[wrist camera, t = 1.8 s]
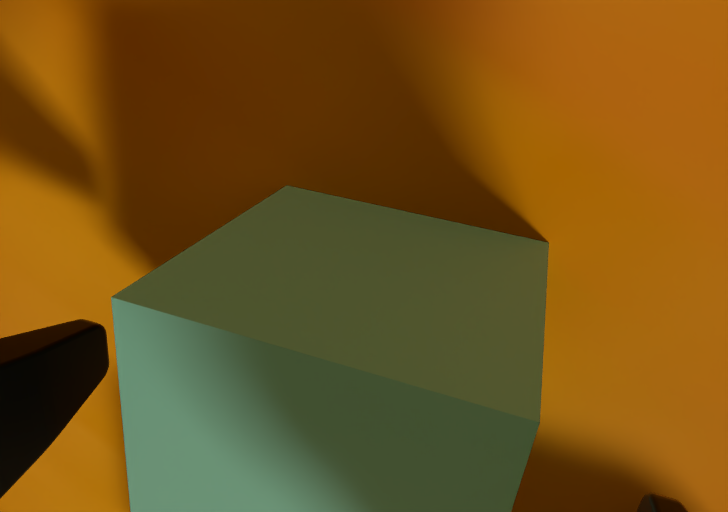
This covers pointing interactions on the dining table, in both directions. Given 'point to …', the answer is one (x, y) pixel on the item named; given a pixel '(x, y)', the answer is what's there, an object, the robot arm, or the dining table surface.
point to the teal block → (333, 363)
